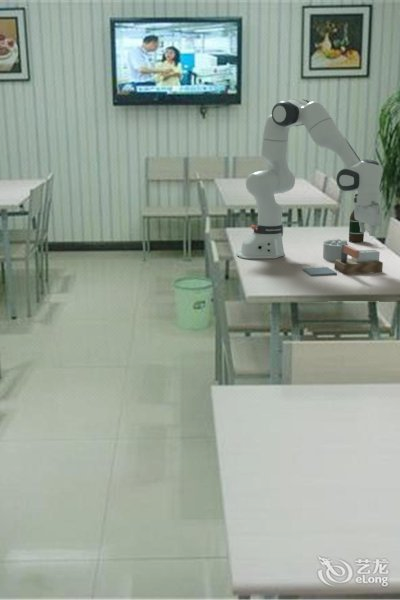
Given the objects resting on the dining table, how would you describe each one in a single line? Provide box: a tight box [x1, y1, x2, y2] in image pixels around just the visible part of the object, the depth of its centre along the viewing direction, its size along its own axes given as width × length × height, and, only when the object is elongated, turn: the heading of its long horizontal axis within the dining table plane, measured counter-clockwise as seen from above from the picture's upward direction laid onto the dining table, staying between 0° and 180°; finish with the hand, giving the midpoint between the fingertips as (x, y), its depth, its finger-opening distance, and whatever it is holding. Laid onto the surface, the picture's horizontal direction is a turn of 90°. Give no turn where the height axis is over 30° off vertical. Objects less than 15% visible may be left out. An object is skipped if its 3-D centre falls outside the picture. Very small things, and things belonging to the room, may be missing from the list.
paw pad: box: [322, 238, 349, 263], centre depth 311 cm, size 10×13×9 cm
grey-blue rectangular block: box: [351, 249, 380, 263], centre depth 288 cm, size 10×5×4 cm, turn 100°
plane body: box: [333, 258, 384, 275], centre depth 288 cm, size 17×10×4 cm, turn 100°
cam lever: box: [341, 243, 359, 262], centre depth 280 cm, size 15×2×7 cm, turn 10°
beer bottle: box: [348, 193, 365, 244], centre depth 349 cm, size 8×8×24 cm
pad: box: [302, 266, 338, 277], centre depth 286 cm, size 11×11×1 cm
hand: (367, 233), depth 285 cm, fingers open, 8 cm apart
